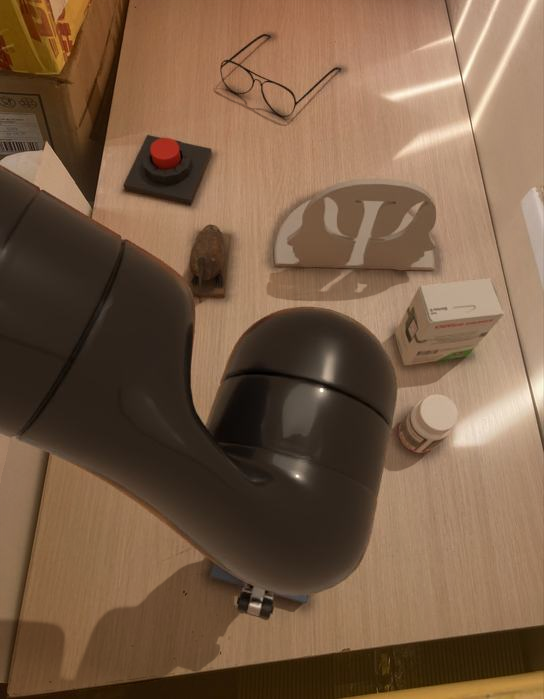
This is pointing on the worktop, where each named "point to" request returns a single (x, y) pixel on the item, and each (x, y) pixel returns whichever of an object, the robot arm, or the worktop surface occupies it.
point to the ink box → (447, 320)
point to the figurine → (209, 262)
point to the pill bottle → (428, 423)
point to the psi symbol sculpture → (360, 228)
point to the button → (165, 153)
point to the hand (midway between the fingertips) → (272, 532)
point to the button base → (169, 173)
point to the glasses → (268, 79)
